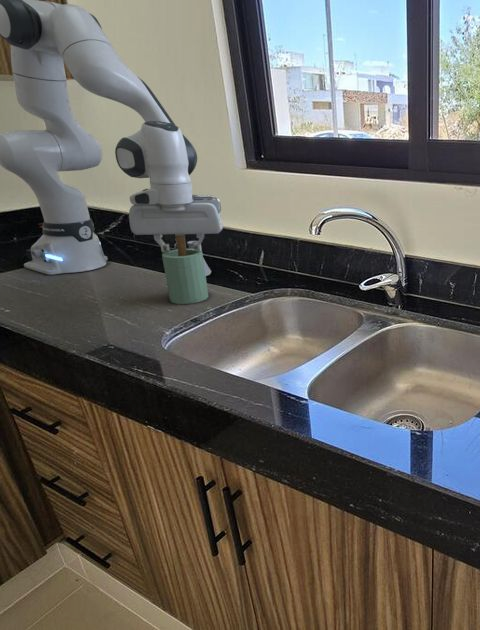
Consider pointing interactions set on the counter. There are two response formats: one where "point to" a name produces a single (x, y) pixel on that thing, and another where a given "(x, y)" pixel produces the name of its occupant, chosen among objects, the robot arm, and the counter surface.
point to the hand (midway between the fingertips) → (182, 251)
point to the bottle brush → (181, 245)
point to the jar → (185, 276)
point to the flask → (207, 270)
